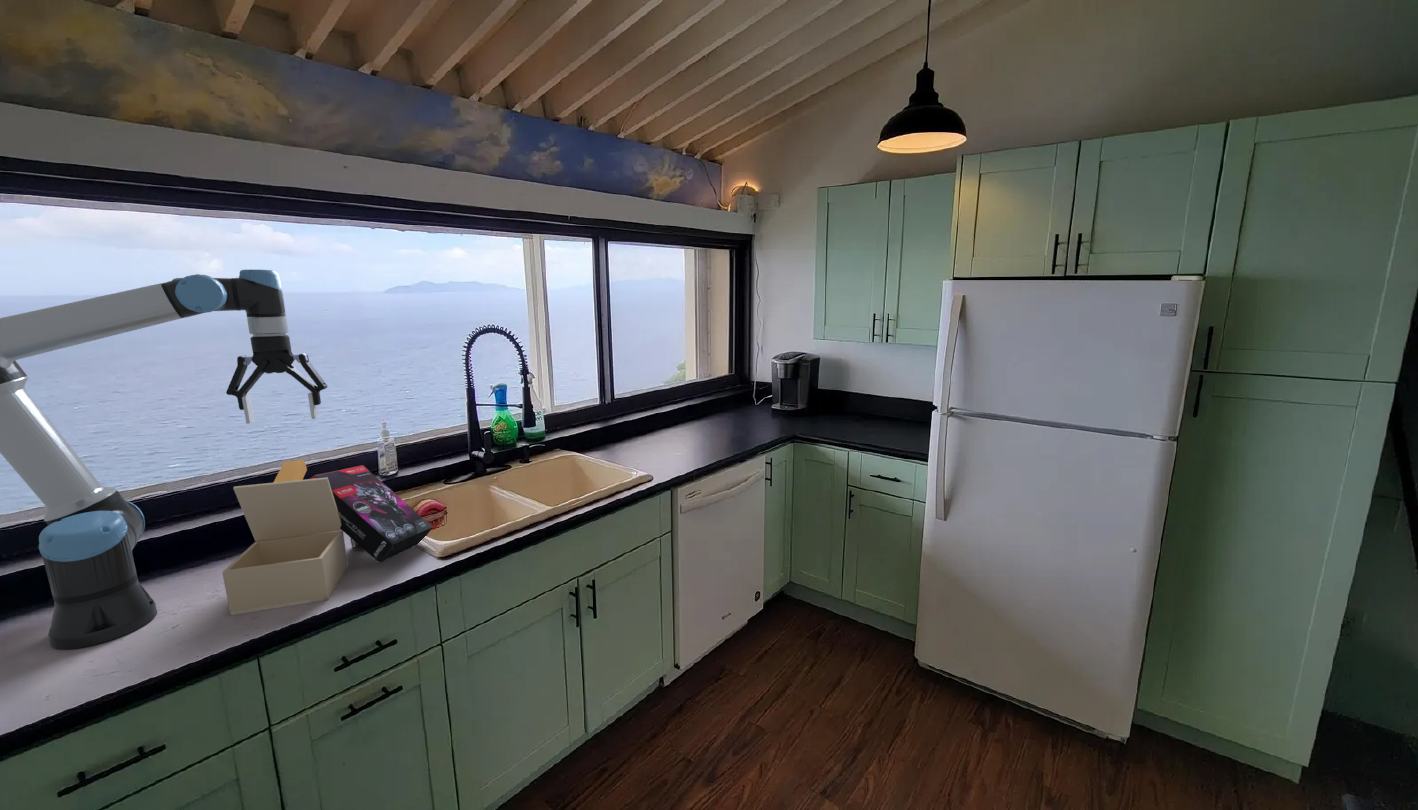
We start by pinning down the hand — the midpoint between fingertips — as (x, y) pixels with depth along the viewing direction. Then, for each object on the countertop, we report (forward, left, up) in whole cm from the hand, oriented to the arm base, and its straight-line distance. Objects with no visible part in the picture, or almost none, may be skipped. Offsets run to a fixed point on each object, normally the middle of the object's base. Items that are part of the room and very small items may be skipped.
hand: (283, 420), depth 139 cm
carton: (+10, -17, -37) cm, 42 cm away
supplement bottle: (+12, +6, -37) cm, 39 cm away
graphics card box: (+28, -1, -34) cm, 44 cm away
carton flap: (+8, -12, -19) cm, 24 cm away
